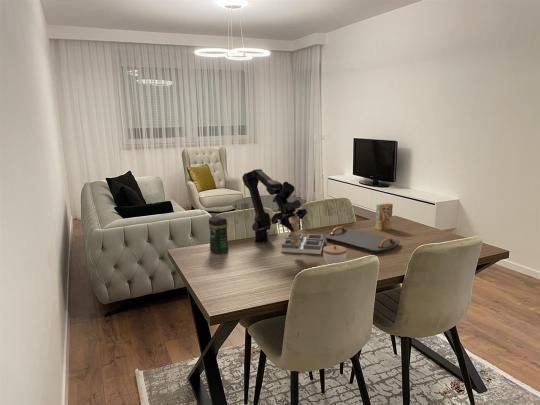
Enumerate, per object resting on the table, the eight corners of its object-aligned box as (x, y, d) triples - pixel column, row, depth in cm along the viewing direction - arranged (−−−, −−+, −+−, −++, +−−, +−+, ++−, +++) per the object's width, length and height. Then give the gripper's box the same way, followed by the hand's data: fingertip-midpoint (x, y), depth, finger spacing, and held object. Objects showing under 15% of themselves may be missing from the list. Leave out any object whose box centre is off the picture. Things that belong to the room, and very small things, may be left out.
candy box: (387, 227, 253) (388, 202, 249) (391, 228, 249) (393, 203, 246) (375, 228, 250) (376, 203, 246) (379, 230, 246) (380, 205, 243)
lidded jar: (318, 265, 193) (318, 245, 191) (331, 258, 201) (331, 240, 199) (337, 270, 186) (338, 250, 184) (350, 264, 194) (351, 244, 192)
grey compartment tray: (281, 251, 212) (281, 244, 211) (287, 239, 231) (287, 232, 230) (320, 253, 208) (320, 246, 207) (323, 241, 227) (324, 234, 226)
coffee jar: (231, 252, 212) (229, 217, 208) (217, 256, 207) (216, 220, 203) (220, 248, 220) (219, 213, 216) (207, 251, 215) (206, 216, 211)
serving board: (319, 240, 231) (319, 229, 229) (345, 232, 246) (345, 221, 245) (380, 257, 203) (381, 245, 202) (405, 246, 218) (405, 235, 217)
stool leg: (290, 245, 203) (290, 218, 200) (291, 243, 206) (291, 216, 203) (298, 246, 202) (298, 218, 199) (299, 243, 206) (299, 216, 203)
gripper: (274, 197, 197) (287, 224, 190) (305, 192, 207) (319, 218, 200) (265, 210, 205) (278, 237, 199) (295, 205, 215) (308, 230, 209)
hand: (296, 230), depth 201 cm, fingers closed on stool leg, 4 cm apart
